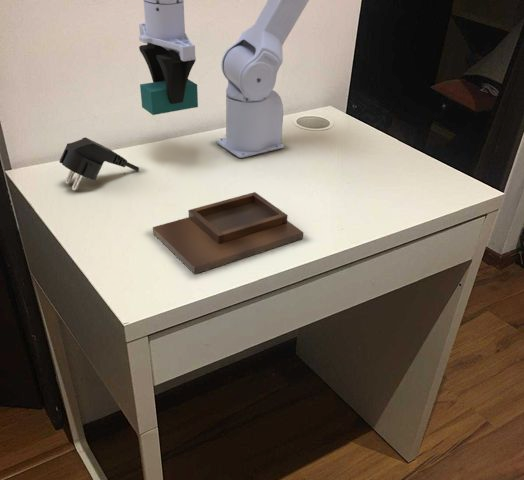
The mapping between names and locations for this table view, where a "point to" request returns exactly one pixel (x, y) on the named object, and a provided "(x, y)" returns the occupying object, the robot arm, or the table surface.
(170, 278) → the table surface
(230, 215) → the brown wooden tray
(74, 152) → the power plug
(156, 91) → the teal rectangular block
